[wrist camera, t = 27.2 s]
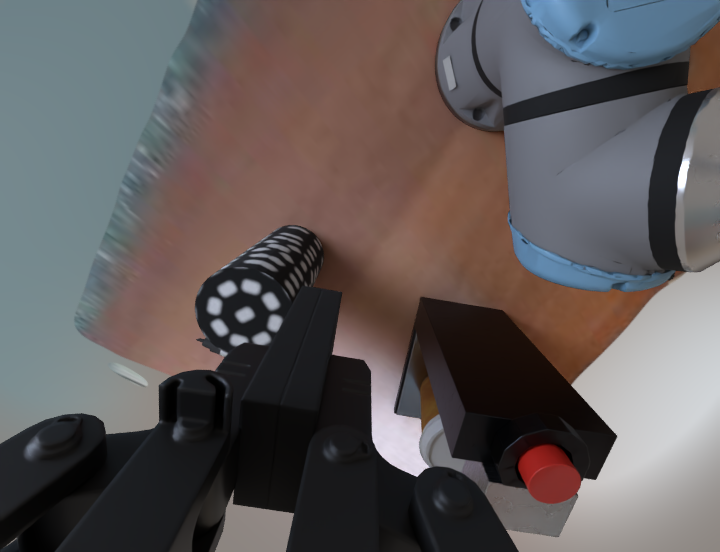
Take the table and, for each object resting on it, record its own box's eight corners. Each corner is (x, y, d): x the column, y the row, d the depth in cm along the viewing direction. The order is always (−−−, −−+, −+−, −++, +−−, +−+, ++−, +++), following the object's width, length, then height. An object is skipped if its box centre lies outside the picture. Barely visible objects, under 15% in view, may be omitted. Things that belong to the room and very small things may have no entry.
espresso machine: (493, 338, 51) (610, 500, 27) (467, 420, 56) (546, 625, 31) (413, 324, 51) (456, 477, 26) (393, 409, 55) (414, 606, 31)
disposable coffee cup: (414, 420, 54) (427, 488, 43) (404, 367, 51) (415, 426, 40) (476, 410, 53) (505, 478, 42) (469, 357, 50) (499, 413, 39)
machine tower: (504, 303, 50) (640, 443, 25) (491, 344, 52) (605, 510, 27) (422, 290, 49) (476, 418, 24) (412, 331, 51) (453, 487, 26)
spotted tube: (304, 214, 46) (259, 249, 27) (334, 267, 48) (312, 334, 29) (252, 242, 48) (174, 294, 29) (284, 293, 50) (231, 372, 31)
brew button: (573, 446, 26) (589, 468, 24) (556, 483, 27) (570, 507, 25) (525, 439, 25) (537, 461, 24) (510, 476, 27) (521, 500, 25)
